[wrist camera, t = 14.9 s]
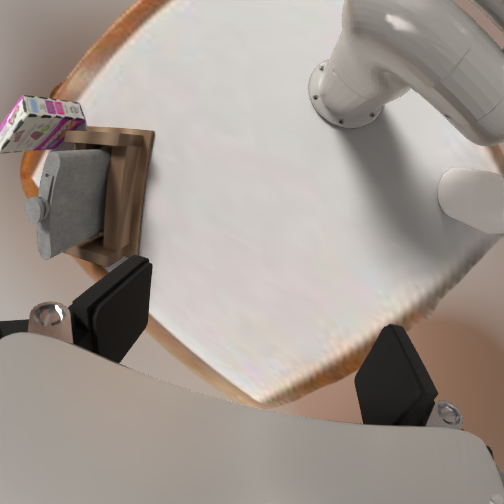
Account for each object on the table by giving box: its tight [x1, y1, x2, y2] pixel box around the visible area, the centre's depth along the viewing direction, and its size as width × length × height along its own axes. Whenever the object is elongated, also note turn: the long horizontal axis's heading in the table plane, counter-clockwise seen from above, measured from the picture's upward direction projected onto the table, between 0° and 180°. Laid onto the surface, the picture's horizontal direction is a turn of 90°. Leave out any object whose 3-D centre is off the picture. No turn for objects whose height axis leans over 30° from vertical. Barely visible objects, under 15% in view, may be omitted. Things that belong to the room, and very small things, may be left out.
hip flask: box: [25, 149, 112, 260], centre depth 38 cm, size 16×4×20 cm, turn 161°
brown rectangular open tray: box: [63, 126, 154, 267], centre depth 44 cm, size 15×24×9 cm, turn 168°
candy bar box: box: [0, 95, 85, 154], centre depth 37 cm, size 11×5×16 cm, turn 115°
